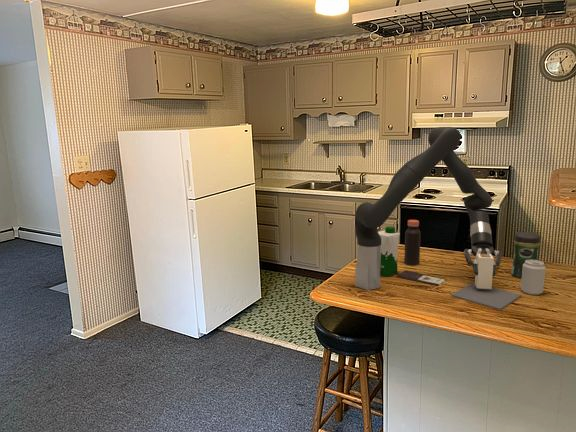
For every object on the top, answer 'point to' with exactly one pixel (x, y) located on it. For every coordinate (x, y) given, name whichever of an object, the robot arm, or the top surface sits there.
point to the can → (533, 277)
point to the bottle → (412, 243)
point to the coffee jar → (524, 250)
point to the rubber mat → (487, 296)
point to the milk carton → (389, 251)
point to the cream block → (484, 271)
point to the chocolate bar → (421, 278)
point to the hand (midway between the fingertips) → (484, 274)
